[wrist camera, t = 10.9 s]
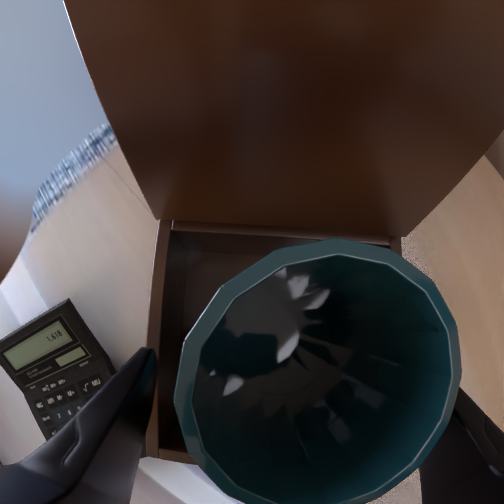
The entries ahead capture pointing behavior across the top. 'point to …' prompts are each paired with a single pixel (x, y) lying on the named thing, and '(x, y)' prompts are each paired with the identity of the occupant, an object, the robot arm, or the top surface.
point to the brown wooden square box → (205, 298)
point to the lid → (297, 104)
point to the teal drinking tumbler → (318, 376)
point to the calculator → (56, 366)
